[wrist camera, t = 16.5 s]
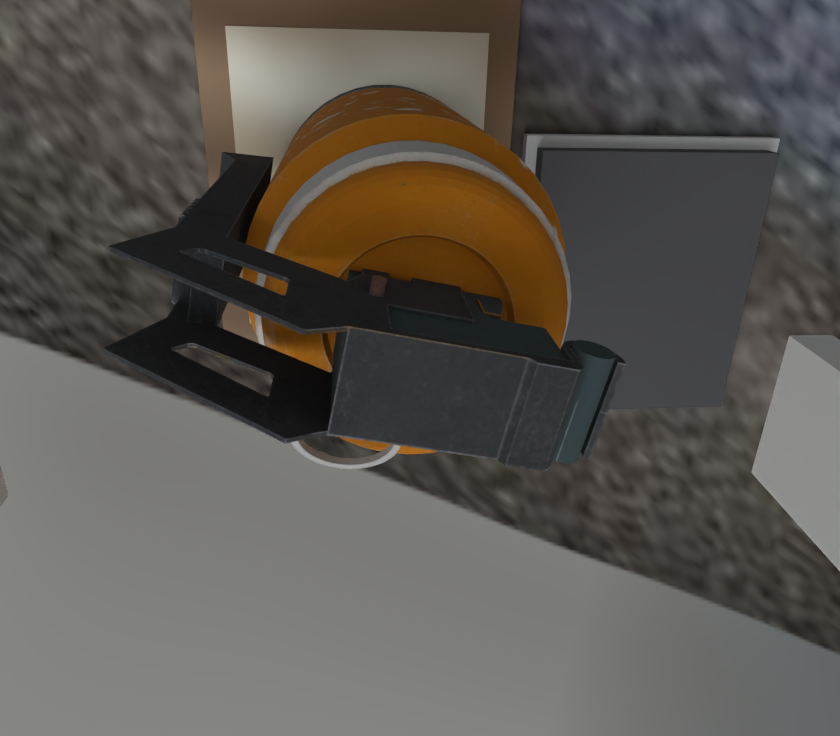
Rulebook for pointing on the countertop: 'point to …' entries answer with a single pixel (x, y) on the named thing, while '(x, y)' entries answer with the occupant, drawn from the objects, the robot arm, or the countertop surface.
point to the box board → (343, 69)
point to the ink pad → (658, 251)
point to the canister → (382, 293)
